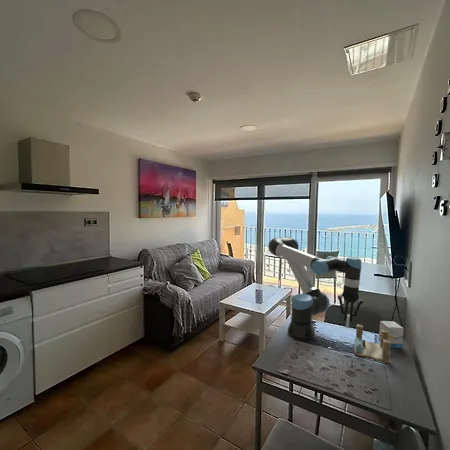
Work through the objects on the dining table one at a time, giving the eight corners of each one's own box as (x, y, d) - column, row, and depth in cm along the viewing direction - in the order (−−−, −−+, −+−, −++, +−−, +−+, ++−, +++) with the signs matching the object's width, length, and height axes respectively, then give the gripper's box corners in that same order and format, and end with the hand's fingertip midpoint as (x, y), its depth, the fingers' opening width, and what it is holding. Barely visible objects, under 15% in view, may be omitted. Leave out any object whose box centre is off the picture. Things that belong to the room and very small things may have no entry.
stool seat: (354, 354, 133) (356, 335, 132) (354, 340, 147) (355, 323, 146) (390, 363, 126) (392, 344, 125) (387, 347, 140) (388, 330, 139)
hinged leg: (362, 353, 132) (363, 346, 131) (356, 351, 133) (356, 344, 133) (361, 343, 142) (361, 336, 141) (355, 341, 143) (355, 335, 143)
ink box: (402, 348, 140) (404, 328, 139) (387, 347, 140) (388, 327, 139) (392, 340, 149) (394, 321, 148) (378, 339, 149) (379, 320, 148)
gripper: (338, 285, 138) (334, 326, 141) (365, 290, 132) (360, 332, 135) (338, 281, 145) (335, 320, 147) (364, 286, 139) (360, 326, 141)
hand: (347, 326), depth 141 cm, fingers closed
